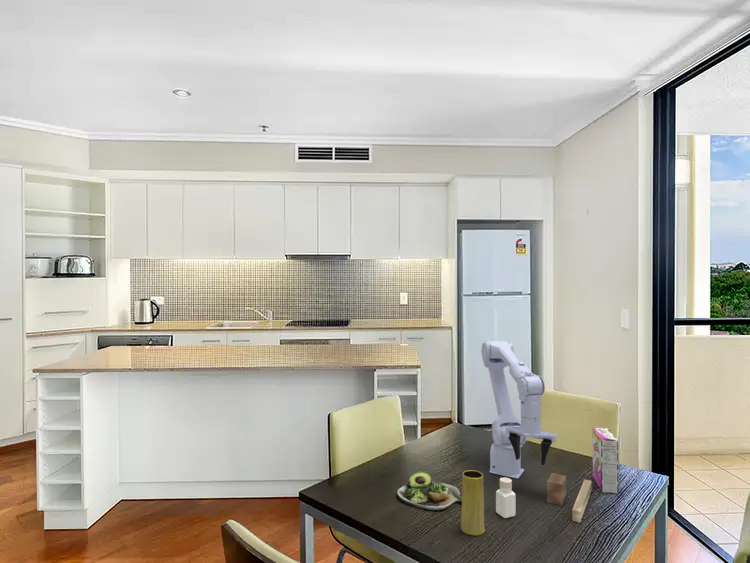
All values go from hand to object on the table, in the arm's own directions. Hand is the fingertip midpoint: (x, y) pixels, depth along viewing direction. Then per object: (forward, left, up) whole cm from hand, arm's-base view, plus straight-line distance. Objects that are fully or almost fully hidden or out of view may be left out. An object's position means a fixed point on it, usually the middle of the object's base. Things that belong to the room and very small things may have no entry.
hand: (530, 461), depth 140 cm
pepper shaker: (-3, -17, -10) cm, 20 cm away
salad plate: (-26, -18, -10) cm, 33 cm away
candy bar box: (+18, +17, -10) cm, 27 cm away
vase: (-8, -29, -10) cm, 31 cm away
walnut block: (+7, 0, -10) cm, 12 cm away
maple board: (+14, 0, -9) cm, 17 cm away
